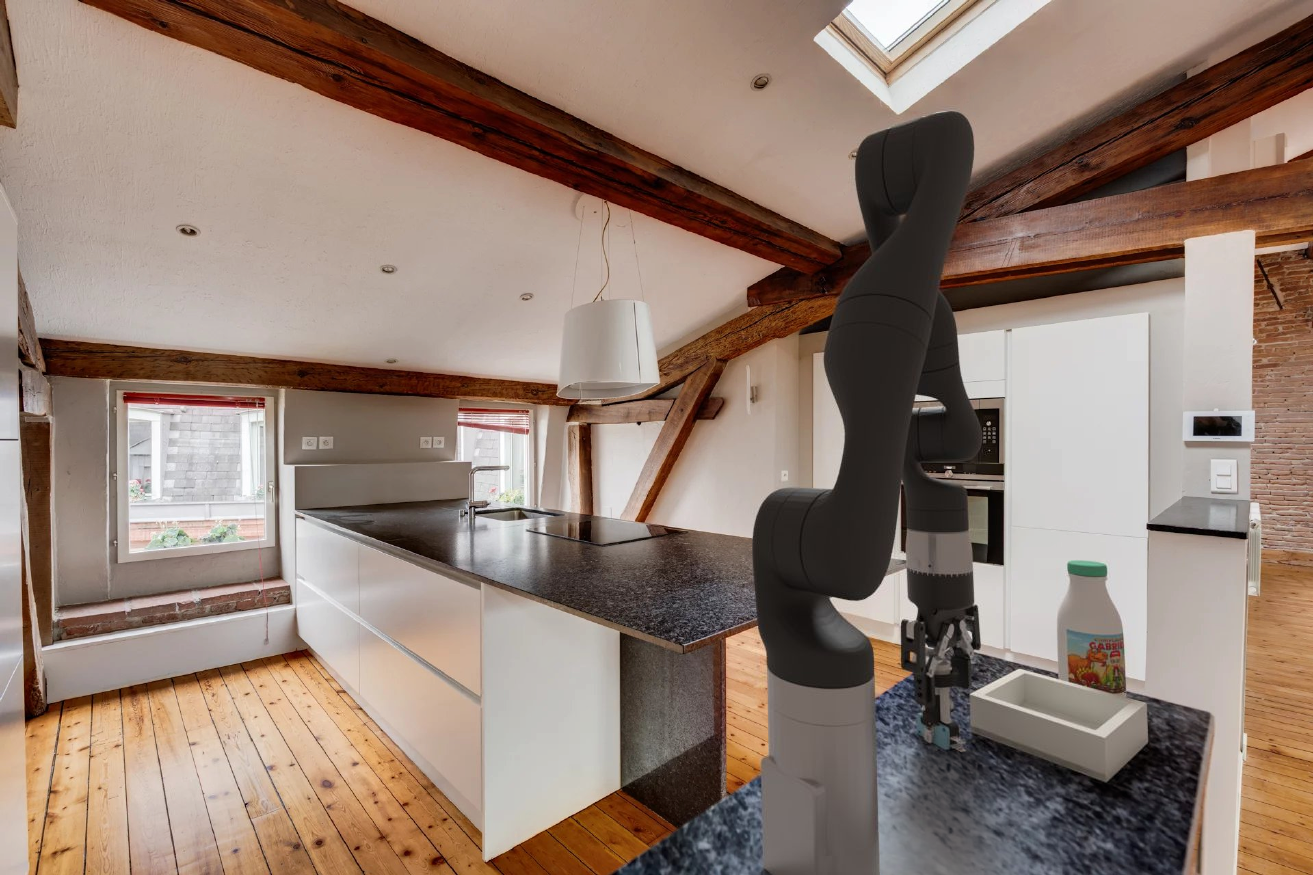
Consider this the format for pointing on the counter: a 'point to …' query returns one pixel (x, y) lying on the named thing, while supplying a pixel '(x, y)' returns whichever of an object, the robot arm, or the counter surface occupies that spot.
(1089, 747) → the bin
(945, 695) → the push button
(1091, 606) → the milk bottle
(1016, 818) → the counter surface
